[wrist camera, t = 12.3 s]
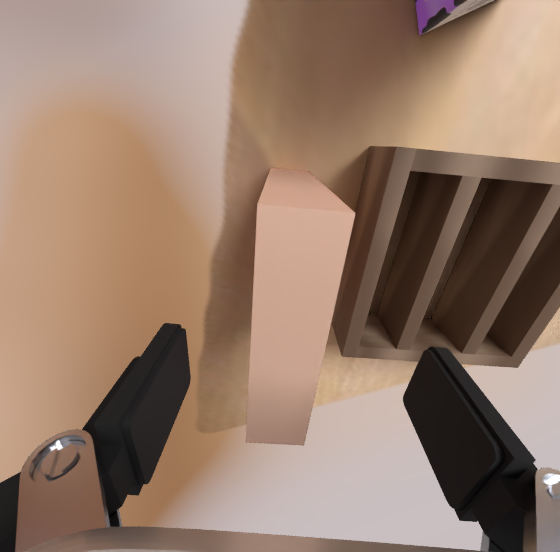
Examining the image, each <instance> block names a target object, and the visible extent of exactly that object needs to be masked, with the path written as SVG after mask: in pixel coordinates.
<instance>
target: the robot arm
mask: <svg viewBox="0 0 560 552" xmlns="http://www.w3.org/2000/svg"><path fill="white" fill-rule="evenodd" d="M189 384H190V367H189V357H188V348H187V338H186V330H185V329H183V328H181V325H179V324H169V323H165V324H163V326H162V327H161V328H160V330H159V331H158V332H157V334H156V335H155V337H154V338H153V340H152V341H151V343H150V344H149V345H148V347H147V348H146V350H145V351H144V353H143V354H142V356H141V357H136V358H134V359H133V360H132V362H131V363H130V364H129V365H128V367H127V368H126V370H125V371H124V372H123V374H122V375H121V376H120V378H119V379H118V381H117V382H116V383H115V385H114V386H113V387H112V389H111V390H110V392H109V393H108V394H107V396H106V397H105V398H104V400H103V401H102V403H101V404H100V405H99V407H98V408H97V409H96V411H95V412H94V414H93V415H92V416H91V418H90V419H89V420H88V422H87V423H86V425H85V426H84V427H83V429H82V430H79V429H75V430H68V431H65V432H62V433H59V434H57V435H55V436H53V437H51V438H49V439H48V440H46V441H45V442H44V443H42V444H41V445H40V446H38V447H37V448H36V449H35V450H34V451H33V453H32V454H31V455H30V456H29V457H28V459H27V460H26V462H25V464H24V465H23V467H22V470H21V472H20V473H18V474H16V475H14V476H12V477H11V478H8V479H7V480H5V481H3V482H1V483H0V552H560V471H558V470H555V469H552V468H540V469H539V470H538V469H537V468H536V467H535V465H534V464H533V462H534V461H535V459H534V457H533V456H532V455H531V454H530V452H529V451H528V450H527V448H526V447H525V446H524V445H523V443H522V442H521V441H520V439H519V438H518V437H517V436H516V434H515V433H514V432H513V431H512V429H511V428H510V427H509V425H508V424H507V423H506V422H505V420H504V419H503V418H502V416H501V415H500V414H499V413H498V411H497V410H496V409H495V408H494V406H493V405H492V404H491V402H490V401H489V400H488V399H487V397H486V396H485V395H484V393H483V392H482V391H481V390H480V388H479V387H478V386H477V385H476V383H475V382H474V381H473V379H472V378H471V377H470V376H469V374H468V373H467V372H466V371H465V369H464V368H463V367H462V365H461V364H460V363H459V362H458V360H457V359H456V358H455V356H454V355H453V354H452V353H451V351H450V350H449V349H448V348H444V347H433V346H432V347H429V348H428V349H427V350H424V352H423V354H422V356H421V358H420V360H419V362H418V365H417V367H416V369H415V371H414V373H413V376H412V378H411V380H410V382H409V385H408V387H407V389H406V391H405V394H404V396H403V402H404V406H405V408H406V410H407V412H408V415H409V417H410V419H411V421H412V424H413V426H414V428H415V430H416V433H417V435H418V437H419V439H420V442H421V444H422V446H423V448H424V451H425V453H426V455H427V457H428V460H429V462H430V464H431V466H432V469H433V471H434V473H435V475H436V478H437V480H438V482H439V484H440V487H441V488H442V491H443V493H444V496H445V497H446V500H447V502H448V504H449V505H450V506H451V507H452V508H454V509H455V511H456V514H457V516H458V518H459V520H460V521H473V522H477V521H478V522H479V524H480V526H481V528H482V530H483V535H482V542H481V550H480V551H474V550H463V549H451V548H439V547H427V546H415V545H402V544H390V543H377V542H364V541H351V540H339V539H325V538H312V537H299V536H298V537H297V536H286V535H271V534H258V533H243V532H230V531H229V532H228V531H216V530H201V529H181V528H162V527H161V528H160V527H122V523H121V518H120V512H119V508H120V507H121V506H122V505H123V503H124V501H125V499H126V497H127V495H139V493H140V491H141V488H142V486H143V484H148V483H149V481H150V480H151V478H152V475H153V473H154V471H155V468H156V466H157V463H158V461H159V458H160V456H161V453H162V451H163V449H164V446H165V444H166V441H167V439H168V436H169V434H170V432H171V429H172V427H173V424H174V421H175V419H176V417H177V414H178V412H179V409H180V407H181V405H182V402H183V400H184V397H185V395H186V392H187V390H188V388H189Z"/></svg>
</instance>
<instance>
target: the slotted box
mask: <svg viewBox="0 0 560 552" xmlns="http://www.w3.org/2000/svg"><path fill="white" fill-rule="evenodd" d="M410 171H418V172H421V175H420V178H419V181H418V185H417V188H416V191H415V194H414V197H413V201H412V204H411V207H410V210H409V213H408V217H407V220H406V223H405V226H404V229H403V233H402V236H401V239H400V242H399V245H398V249H397V252H396V255H395V258H394V261H393V265H392V268H391V271H390V274H389V277H388V281H387V284H386V287H385V290H384V293H383V297H382V300H381V303H380V306H379V309H378V313H377V315H369V314H368V313H369V310H370V306H371V303H372V299H373V296H374V293H375V289H376V286H377V282H378V279H379V276H380V272H381V269H382V265H383V262H384V258H385V255H386V252H387V248H388V245H389V241H390V238H391V235H392V231H393V228H394V224H395V221H396V218H397V214H398V211H399V207H400V204H401V201H402V197H403V194H404V190H405V187H406V184H407V180H408V177H409V173H410ZM481 178H492V180H491V182H490V185H489V187H488V189H487V192H486V194H485V196H484V199H483V201H482V203H481V205H480V208H479V210H478V212H477V215H476V217H475V219H474V222H473V224H472V226H471V229H470V231H469V233H468V236H467V238H466V240H465V242H464V245H463V247H462V249H461V252H460V254H459V256H458V259H457V261H456V263H455V266H454V268H453V270H452V272H451V275H450V277H449V279H448V282H447V284H446V286H445V289H444V291H443V293H442V296H441V298H440V300H439V302H438V305H437V307H436V309H435V312H434V314H433V316H432V319H426V318H424V315H425V313H426V311H427V308H428V306H429V303H430V301H431V298H432V296H433V294H434V291H435V289H436V286H437V284H438V282H439V279H440V277H441V274H442V272H443V270H444V267H445V265H446V262H447V260H448V257H449V255H450V253H451V250H452V248H453V245H454V243H455V241H456V238H457V236H458V233H459V231H460V229H461V226H462V224H463V221H464V219H465V217H466V214H467V212H468V209H469V207H470V204H471V202H472V200H473V197H474V195H475V192H476V190H477V188H478V185H479V183H480V180H481ZM559 307H560V163H555V162H545V161H535V160H525V159H515V158H505V157H494V156H484V155H474V154H464V153H454V152H444V151H434V150H424V149H414V148H404V147H377V146H370V148H369V153H368V157H367V162H366V166H365V171H364V175H363V180H362V185H361V189H360V194H359V198H358V203H357V207H356V212H355V218H354V222H353V227H352V231H351V236H350V240H349V245H348V249H347V254H346V258H345V263H344V267H343V272H342V276H341V281H340V286H339V290H338V295H337V299H336V304H335V308H334V313H333V317H332V325H333V328H334V331H335V335H336V338H337V342H338V345H339V348H340V352H341V355H342V357H358V358H374V359H389V360H405V361H419V360H420V358H421V356H422V354H423V352H424V350H427V349H428V348H429V347H432V346H433V347H444V348H448V349H449V350H450V351H451V353H452V354H453V355H454V356H455V358H456V359H457V360H458V362H459V363H460V364H468V365H484V366H499V367H515V368H518V367H519V365H520V364H521V362H522V361H523V359H524V358H525V356H526V355H527V354H528V352H529V351H530V349H531V348H532V346H533V345H534V343H535V342H536V341H537V339H538V338H539V336H540V335H541V333H542V332H543V330H544V329H545V328H546V326H547V325H548V323H549V322H550V320H551V319H552V317H553V316H554V315H555V313H556V312H557V310H558V309H559Z"/></svg>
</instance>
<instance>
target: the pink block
mask: <svg viewBox="0 0 560 552" xmlns="http://www.w3.org/2000/svg"><path fill="white" fill-rule="evenodd" d="M354 218H355V212H354V211H353V210H351V209H350V208H349V207H348V206H347V205H346V204H345V203H344V202H343V201H341V200H340V199H339V198H338V197H337V196H336V195H335V194H334V193H333V192H331V191H330V190H329V189H328V188H327V187H326V186H325V185H324V184H323V183H321V182H320V181H319V180H318V179H317V178H316V177H315V176H314V175H313V174H311V173H310V172H309V171H301V170H291V169H280V168H271V169H270V172H269V174H268V177H267V180H266V182H265V185H264V188H263V190H262V193H261V196H260V198H259V201H258V204H257V221H256V242H255V262H254V283H253V304H252V324H251V345H250V365H249V386H248V406H247V427H246V442H249V443H270V444H289V445H304V442H305V438H306V434H307V430H308V425H309V420H310V416H311V411H312V407H313V403H314V398H315V394H316V389H317V385H318V380H319V376H320V371H321V367H322V362H323V358H324V353H325V349H326V344H327V340H328V335H329V331H330V326H331V322H332V317H333V313H334V308H335V304H336V299H337V295H338V290H339V286H340V281H341V276H342V272H343V267H344V263H345V258H346V254H347V249H348V245H349V240H350V236H351V231H352V227H353V222H354Z"/></svg>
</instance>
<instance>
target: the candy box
mask: <svg viewBox="0 0 560 552" xmlns="http://www.w3.org/2000/svg"><path fill="white" fill-rule="evenodd" d="M494 1H495V0H415V4H416V12H417V21H418V29H419V35H423V34H425V33H427V32H429V31H431V30H433V29H435V28H437V27H439V26H441V25H443V24H445V23H447V22H449V21H452V20H454V19H456V18H458V17H461V16H463V15H465V14H467V13H469V12H471V11H474V10H476V9H478V8H481V7H483V6H485V5H487V4H490V3H492V2H494Z"/></svg>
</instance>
